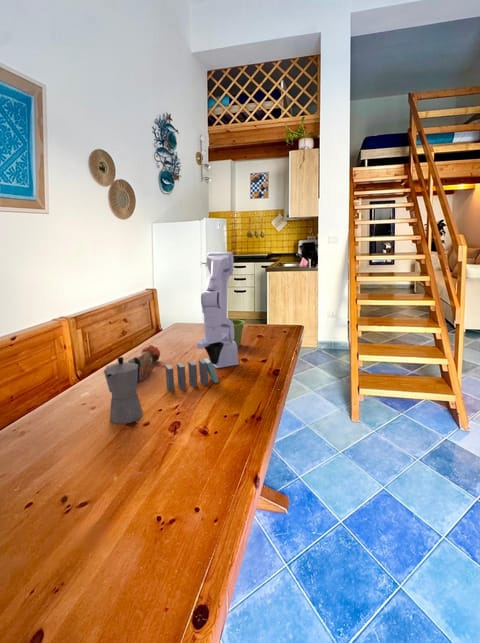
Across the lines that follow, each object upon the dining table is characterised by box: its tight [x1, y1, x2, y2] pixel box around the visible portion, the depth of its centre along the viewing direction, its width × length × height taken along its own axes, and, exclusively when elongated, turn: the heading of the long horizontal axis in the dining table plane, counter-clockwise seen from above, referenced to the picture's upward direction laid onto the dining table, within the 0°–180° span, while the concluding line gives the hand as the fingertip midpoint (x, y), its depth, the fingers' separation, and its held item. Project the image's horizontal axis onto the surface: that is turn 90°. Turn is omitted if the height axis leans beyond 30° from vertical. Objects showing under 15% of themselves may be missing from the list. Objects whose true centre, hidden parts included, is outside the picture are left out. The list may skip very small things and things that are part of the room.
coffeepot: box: [103, 356, 144, 425], centre depth 108 cm, size 15×9×18 cm, turn 163°
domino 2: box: [176, 362, 187, 391], centre depth 128 cm, size 2×4×8 cm, turn 23°
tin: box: [133, 351, 154, 382], centre depth 140 cm, size 15×3×8 cm, turn 168°
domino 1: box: [164, 364, 176, 393], centre depth 127 cm, size 2×4×8 cm, turn 23°
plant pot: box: [230, 319, 245, 348], centre depth 173 cm, size 12×12×11 cm
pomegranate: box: [141, 344, 161, 363], centre depth 155 cm, size 7×7×10 cm
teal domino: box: [203, 357, 220, 384], centre depth 133 cm, size 2×4×8 cm, turn 22°
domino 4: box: [198, 358, 210, 386], centre depth 131 cm, size 2×4×8 cm, turn 23°
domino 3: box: [187, 360, 199, 388], centre depth 130 cm, size 2×4×8 cm, turn 23°
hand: (214, 363), depth 132 cm, fingers closed
